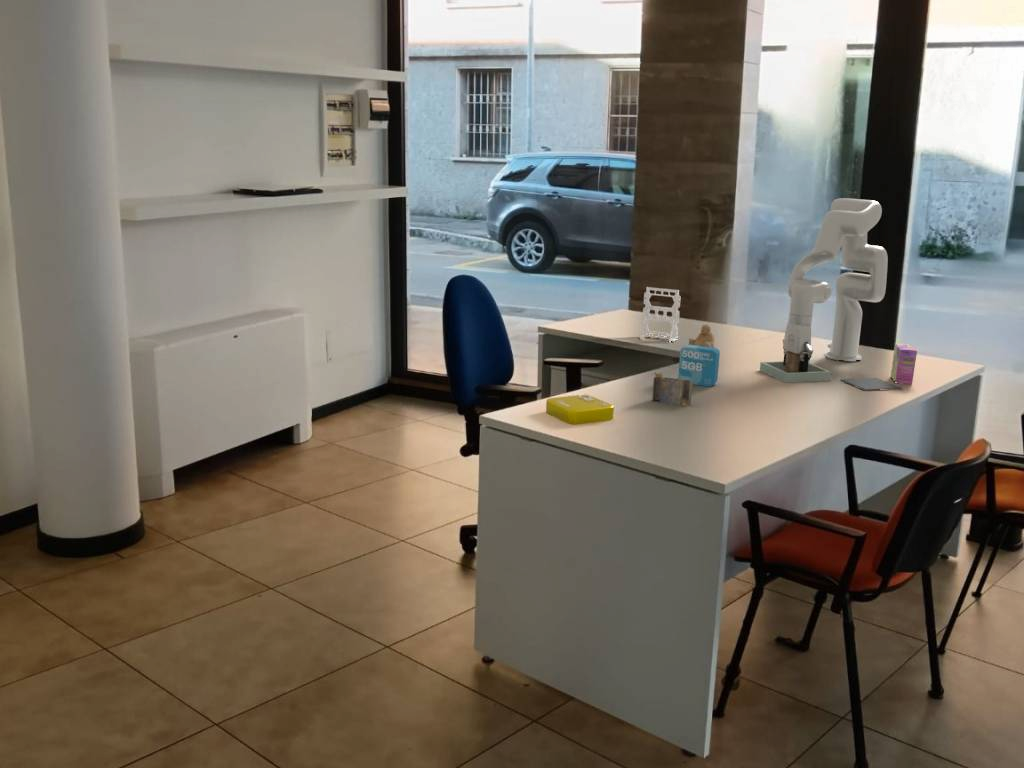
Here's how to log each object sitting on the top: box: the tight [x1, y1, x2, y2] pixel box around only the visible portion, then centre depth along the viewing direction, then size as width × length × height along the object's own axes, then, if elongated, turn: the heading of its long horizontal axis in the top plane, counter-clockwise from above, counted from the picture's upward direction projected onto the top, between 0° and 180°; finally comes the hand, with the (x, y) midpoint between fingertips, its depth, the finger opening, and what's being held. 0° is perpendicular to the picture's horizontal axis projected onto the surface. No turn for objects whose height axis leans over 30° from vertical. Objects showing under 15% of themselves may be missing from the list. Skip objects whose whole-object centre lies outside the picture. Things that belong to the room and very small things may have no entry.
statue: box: [687, 323, 715, 348], centre depth 379 cm, size 12×14×10 cm
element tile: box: [545, 394, 615, 426], centre depth 300 cm, size 15×15×5 cm
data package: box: [677, 344, 721, 388], centre depth 342 cm, size 12×4×12 cm, turn 65°
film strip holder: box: [640, 286, 682, 342], centre depth 410 cm, size 14×14×20 cm
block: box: [784, 351, 805, 373], centre depth 358 cm, size 5×5×8 cm
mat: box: [839, 377, 903, 391], centre depth 350 cm, size 14×14×1 cm
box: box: [890, 342, 918, 385], centre depth 356 cm, size 10×6×12 cm, turn 168°
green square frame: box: [759, 360, 832, 383], centre depth 359 cm, size 17×17×3 cm
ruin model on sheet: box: [651, 372, 693, 407], centre depth 317 cm, size 11×3×10 cm, turn 69°
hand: (795, 368), depth 359 cm, fingers open, 9 cm apart
